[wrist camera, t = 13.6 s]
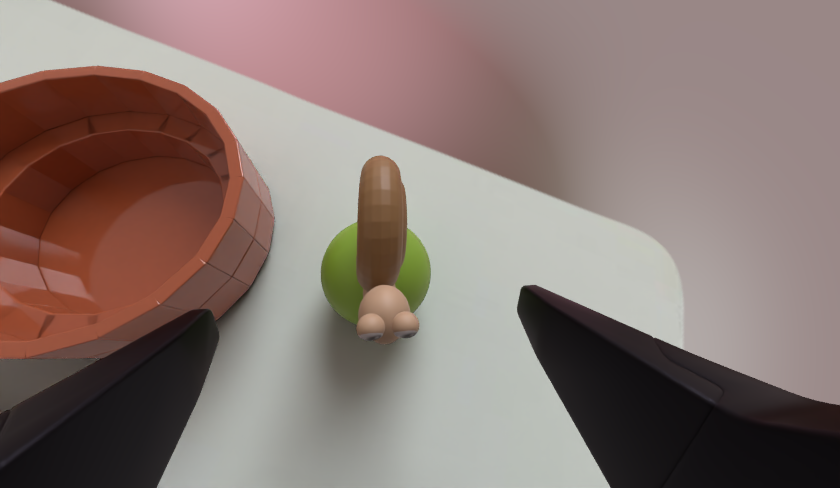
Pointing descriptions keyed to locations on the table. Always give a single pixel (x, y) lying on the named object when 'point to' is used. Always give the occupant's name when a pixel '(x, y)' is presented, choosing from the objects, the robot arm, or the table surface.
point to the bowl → (118, 211)
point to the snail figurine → (378, 260)
